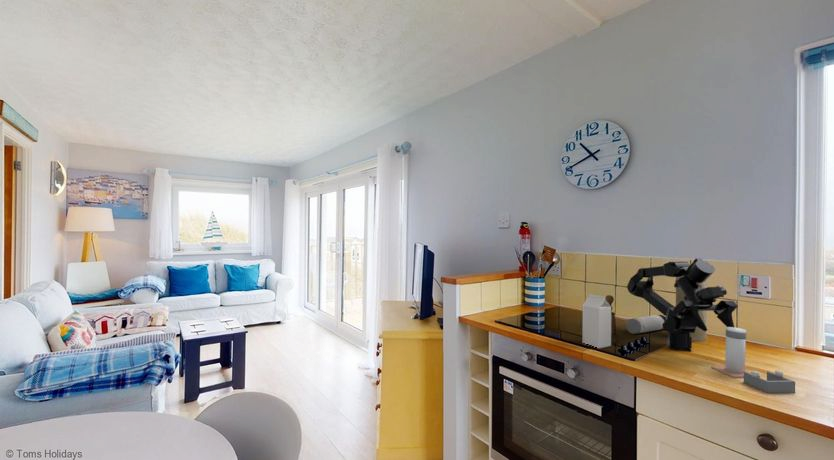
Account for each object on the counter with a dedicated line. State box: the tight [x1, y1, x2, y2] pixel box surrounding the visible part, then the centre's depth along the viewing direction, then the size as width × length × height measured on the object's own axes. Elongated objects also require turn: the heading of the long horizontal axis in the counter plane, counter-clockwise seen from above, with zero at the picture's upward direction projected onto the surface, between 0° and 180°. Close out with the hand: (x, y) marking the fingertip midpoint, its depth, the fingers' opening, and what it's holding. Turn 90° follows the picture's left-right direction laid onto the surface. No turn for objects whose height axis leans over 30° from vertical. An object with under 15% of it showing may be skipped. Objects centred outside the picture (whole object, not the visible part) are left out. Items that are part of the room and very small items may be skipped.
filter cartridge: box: [724, 326, 747, 374], centre depth 113 cm, size 5×5×13 cm
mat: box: [711, 365, 761, 379], centre depth 113 cm, size 8×8×1 cm
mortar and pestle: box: [604, 295, 620, 344], centre depth 145 cm, size 7×6×18 cm
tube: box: [675, 277, 708, 343], centre depth 149 cm, size 10×10×25 cm
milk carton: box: [582, 293, 612, 349], centre depth 139 cm, size 7×7×19 cm
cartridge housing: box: [743, 370, 796, 394], centre depth 103 cm, size 7×9×4 cm
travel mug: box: [625, 314, 666, 335], centre depth 158 cm, size 6×7×20 cm
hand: (719, 330), depth 118 cm, fingers open, 9 cm apart
